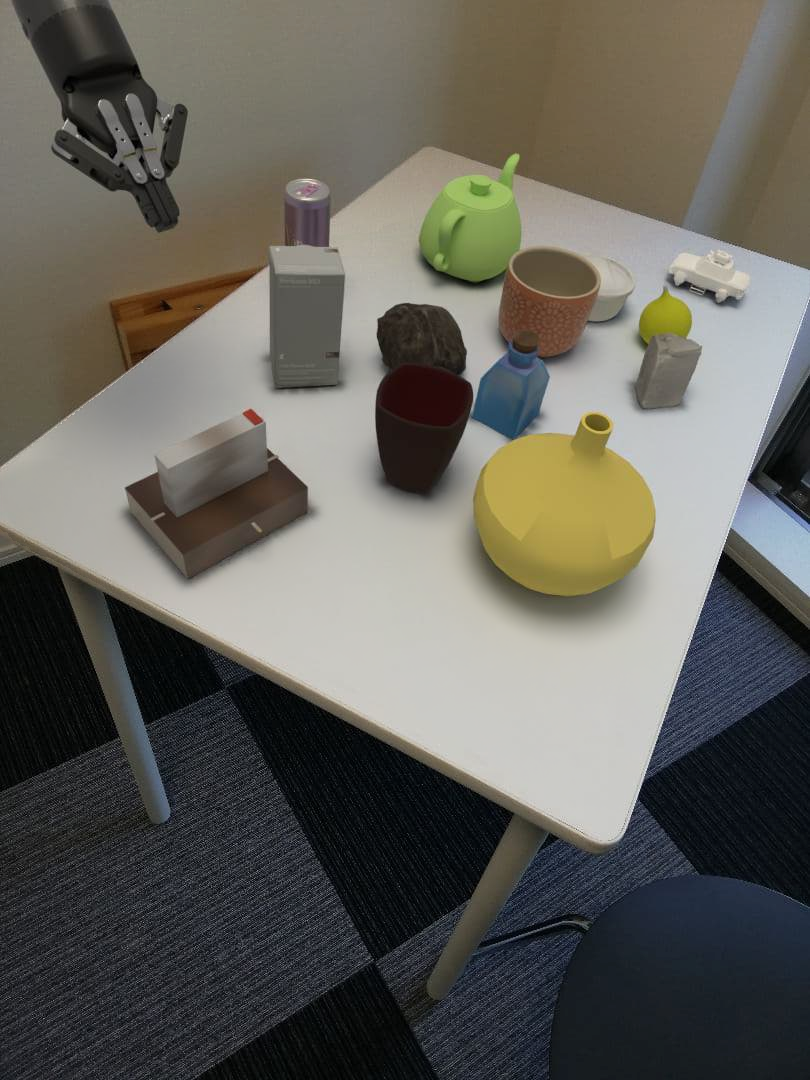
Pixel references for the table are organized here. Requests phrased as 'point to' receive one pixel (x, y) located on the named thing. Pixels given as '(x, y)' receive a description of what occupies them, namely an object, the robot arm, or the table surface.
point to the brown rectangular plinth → (219, 516)
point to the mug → (420, 423)
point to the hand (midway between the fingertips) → (168, 227)
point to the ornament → (665, 317)
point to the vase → (564, 510)
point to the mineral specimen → (666, 370)
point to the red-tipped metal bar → (212, 462)
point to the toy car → (711, 274)
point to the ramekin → (610, 286)
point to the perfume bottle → (513, 387)
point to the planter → (548, 296)
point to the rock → (421, 337)
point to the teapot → (473, 226)
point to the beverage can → (307, 213)
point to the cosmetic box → (305, 314)
